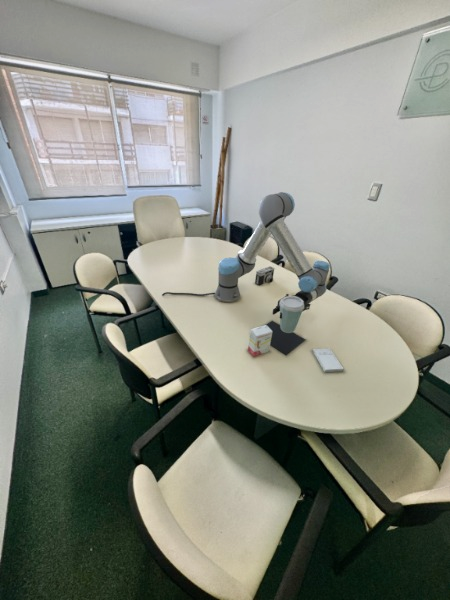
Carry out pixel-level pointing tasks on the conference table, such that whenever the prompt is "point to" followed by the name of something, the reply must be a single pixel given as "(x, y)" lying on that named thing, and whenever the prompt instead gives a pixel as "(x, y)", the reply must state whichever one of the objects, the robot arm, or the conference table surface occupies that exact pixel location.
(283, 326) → the disposable coffee cup
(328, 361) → the hard drive
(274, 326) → the mat
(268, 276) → the camera
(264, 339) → the ink box
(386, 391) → the conference table surface
